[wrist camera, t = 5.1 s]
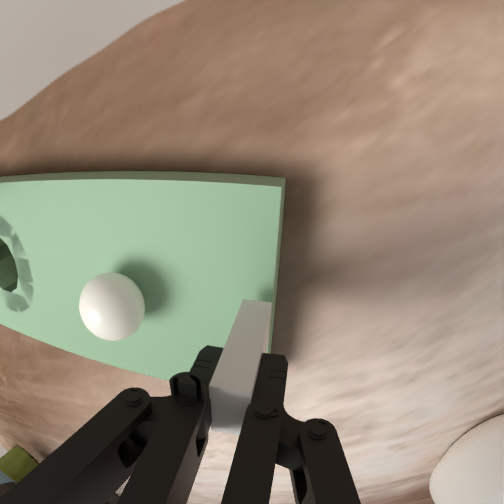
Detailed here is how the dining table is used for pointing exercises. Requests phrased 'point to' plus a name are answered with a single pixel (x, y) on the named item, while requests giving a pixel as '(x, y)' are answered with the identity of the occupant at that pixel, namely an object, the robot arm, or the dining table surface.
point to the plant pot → (17, 463)
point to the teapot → (472, 467)
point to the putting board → (139, 257)
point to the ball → (112, 306)
